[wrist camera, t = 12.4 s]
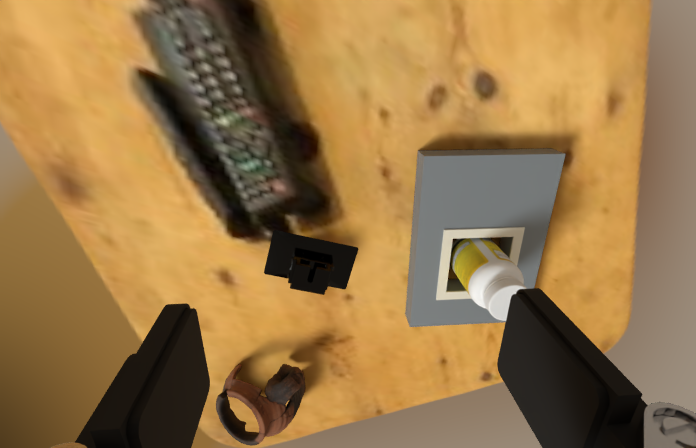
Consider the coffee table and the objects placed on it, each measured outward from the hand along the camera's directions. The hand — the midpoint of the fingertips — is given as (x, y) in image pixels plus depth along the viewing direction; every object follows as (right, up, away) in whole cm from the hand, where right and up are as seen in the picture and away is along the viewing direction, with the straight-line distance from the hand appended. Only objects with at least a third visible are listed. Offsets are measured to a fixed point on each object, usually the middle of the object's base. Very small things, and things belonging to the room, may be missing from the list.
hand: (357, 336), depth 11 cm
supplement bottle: (+14, 0, +32) cm, 35 cm away
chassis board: (+14, +2, +31) cm, 34 cm away
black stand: (-4, 0, +32) cm, 32 cm away
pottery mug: (-10, -16, +38) cm, 42 cm away
